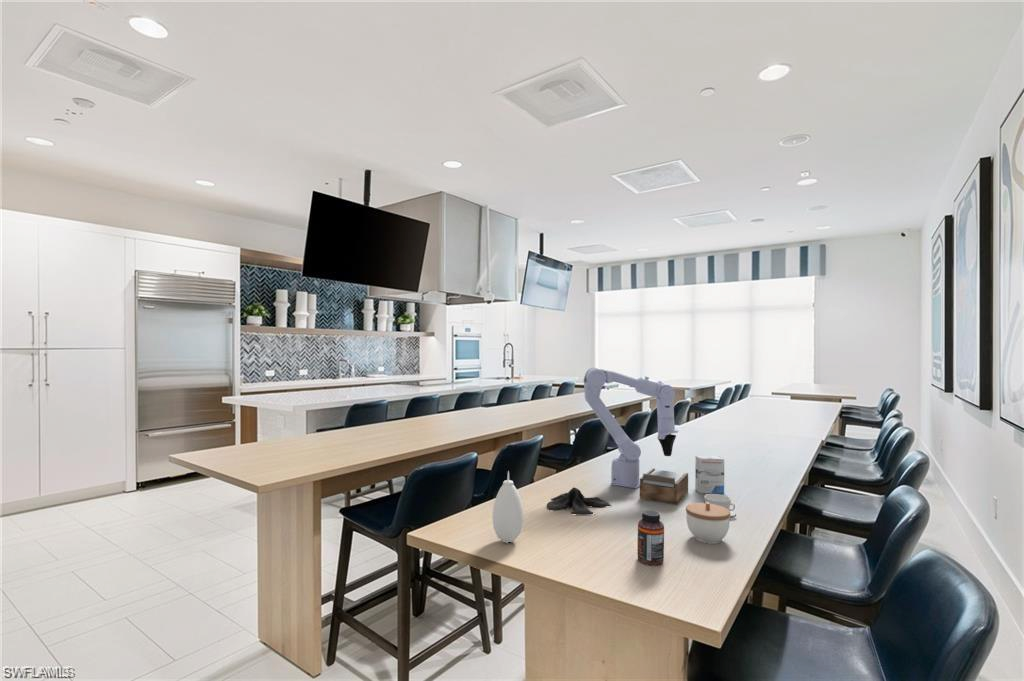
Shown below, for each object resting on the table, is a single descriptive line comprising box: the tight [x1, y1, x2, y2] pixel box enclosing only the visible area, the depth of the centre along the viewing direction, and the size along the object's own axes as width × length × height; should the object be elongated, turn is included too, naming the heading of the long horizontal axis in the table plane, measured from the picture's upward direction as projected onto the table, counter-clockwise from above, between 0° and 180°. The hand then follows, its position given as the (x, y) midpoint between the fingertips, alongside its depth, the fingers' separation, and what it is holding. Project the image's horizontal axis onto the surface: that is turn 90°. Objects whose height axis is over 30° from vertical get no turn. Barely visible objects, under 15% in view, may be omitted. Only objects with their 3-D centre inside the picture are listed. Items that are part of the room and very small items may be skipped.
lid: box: [642, 469, 685, 487], centre depth 168 cm, size 10×16×3 cm, turn 149°
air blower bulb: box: [492, 470, 524, 543], centre depth 128 cm, size 8×8×18 cm
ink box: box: [694, 455, 725, 495], centre depth 173 cm, size 8×5×12 cm, turn 84°
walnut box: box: [638, 468, 689, 506], centre depth 168 cm, size 12×16×6 cm
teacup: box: [704, 493, 737, 518], centre depth 152 cm, size 10×10×5 cm
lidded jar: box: [685, 502, 731, 545], centre depth 131 cm, size 11×11×9 cm
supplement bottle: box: [637, 509, 665, 566], centre depth 118 cm, size 6×6×11 cm
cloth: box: [546, 487, 612, 515], centre depth 158 cm, size 22×19×6 cm
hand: (667, 455), depth 180 cm, fingers closed
